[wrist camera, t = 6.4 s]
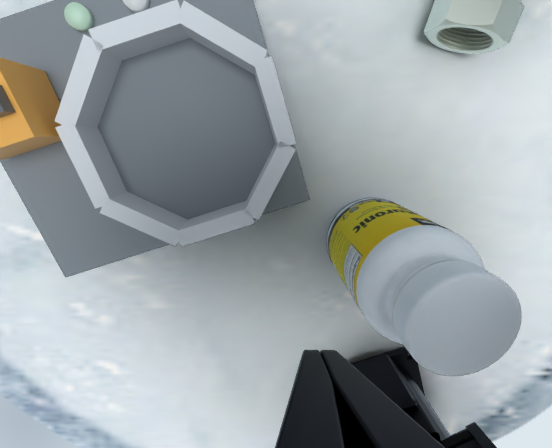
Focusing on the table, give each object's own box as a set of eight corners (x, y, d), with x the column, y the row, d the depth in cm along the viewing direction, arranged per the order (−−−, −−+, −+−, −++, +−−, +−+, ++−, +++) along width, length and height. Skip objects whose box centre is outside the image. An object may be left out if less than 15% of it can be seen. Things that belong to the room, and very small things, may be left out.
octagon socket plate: (304, 192, 19) (317, 208, 15) (84, 263, 19) (41, 295, 15) (237, -38, 15) (232, -94, 12) (-28, 52, 16) (-119, 27, 12)
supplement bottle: (413, 195, 19) (563, 252, 10) (403, 275, 21) (525, 392, 11) (326, 195, 19) (396, 256, 10) (322, 277, 21) (379, 400, 11)
